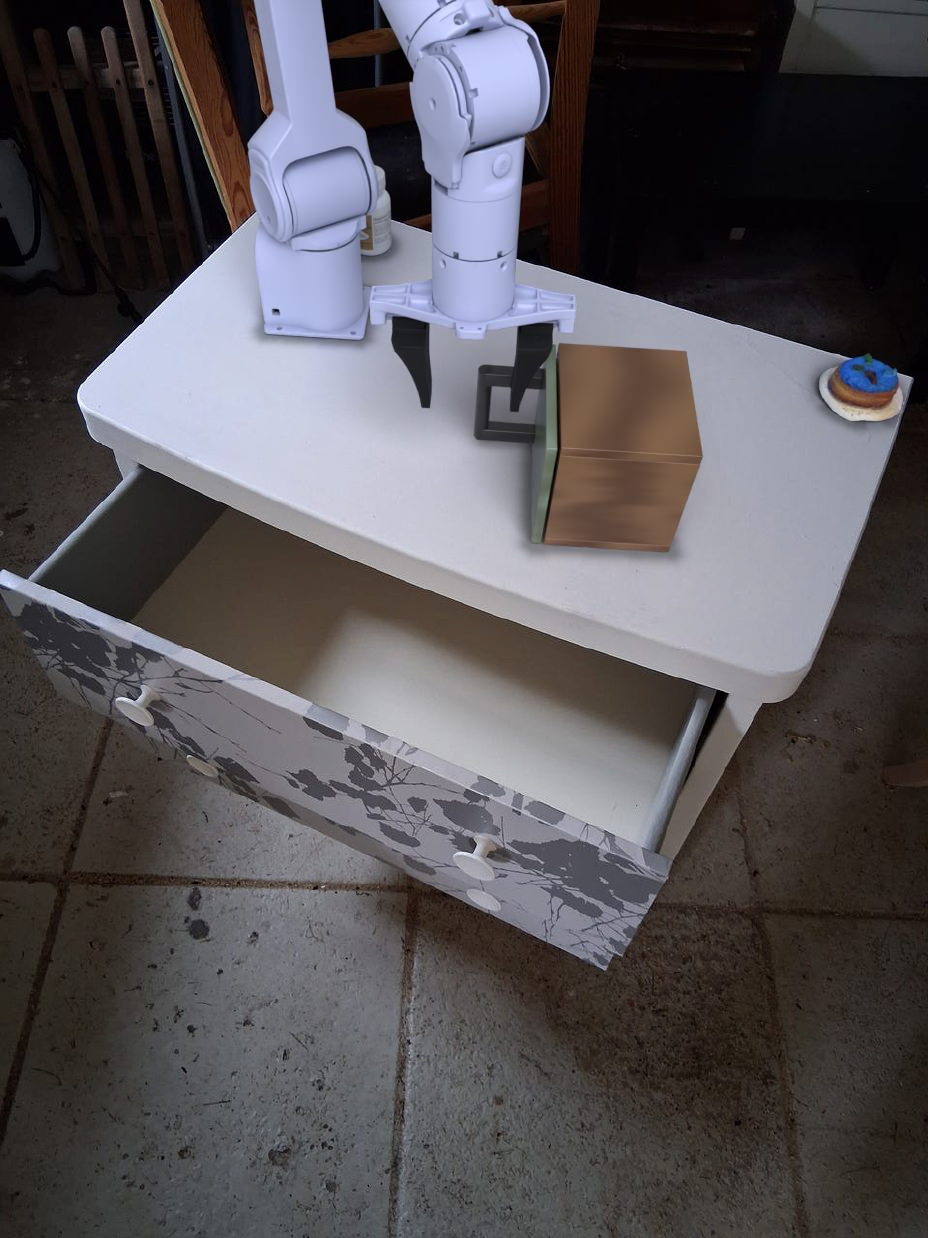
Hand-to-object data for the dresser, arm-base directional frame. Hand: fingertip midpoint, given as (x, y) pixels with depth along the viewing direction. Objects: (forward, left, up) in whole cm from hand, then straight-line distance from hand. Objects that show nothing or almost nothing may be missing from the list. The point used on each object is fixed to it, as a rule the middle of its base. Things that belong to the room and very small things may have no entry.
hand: (469, 401), depth 70 cm
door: (+3, -2, -7) cm, 8 cm away
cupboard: (+12, -2, -7) cm, 14 cm away
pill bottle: (-11, +32, -7) cm, 34 cm away
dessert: (+36, +11, -9) cm, 39 cm away
